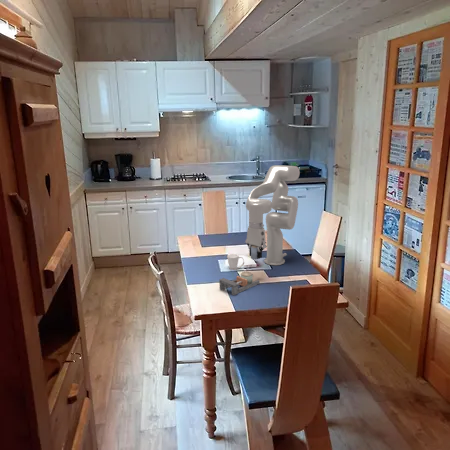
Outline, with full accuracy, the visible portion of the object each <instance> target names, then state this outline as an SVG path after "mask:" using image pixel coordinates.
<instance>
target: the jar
mask: <svg viewBox="0 0 450 450" xmlns="http://www.w3.org/2000/svg"><path fill="white" fill-rule="evenodd" d="M257 252H258V248H257V246H254V245H252V246H251V256H250V259H251V260H259V259H261V258H259V259H258V258H257Z"/></svg>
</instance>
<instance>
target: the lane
mask: <svg viewBox="0 0 450 450" xmlns="http://www.w3.org/2000/svg"><path fill="white" fill-rule="evenodd" d="M259 284H260V279H257V280H255V281H254V280H253V282H252V283H250V284H247V285H245V286H241V287H239V284H238V283H237V282H236V279H234V280H230V279H227V278H225V277H222V278H220V279H219V290H220V291H224V290H226V289H227V288H229V286H231V287H230V288H231V295H232V296H236V295H238V294H239V293H242V292H244V291H246V290H248V289H251V288H253V287H255V286H257V285H259Z"/></svg>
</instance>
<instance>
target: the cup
mask: <svg viewBox="0 0 450 450" xmlns="http://www.w3.org/2000/svg"><path fill="white" fill-rule="evenodd" d="M226 257H227V261H228V262H227V263H228V264H227V265H228V267H229V269H230V270H231V271H234V270H238V269H239V268H241V267H242V266H244V264H245V260H244V258H243V257H242V256H240V255H239V254H237V253H229V254H227V256H226ZM239 259H242V261H243V263H242V264H241V265H239V266H238V264H239Z"/></svg>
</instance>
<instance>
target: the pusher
mask: <svg viewBox="0 0 450 450" xmlns="http://www.w3.org/2000/svg"><path fill="white" fill-rule="evenodd" d="M235 280H236V282H237V283H238V286H241V287H243V286H245V285H247V279H244V278H241V276H238V275H237V276H236V279H235ZM228 288H229V289H231V288H232V287H231V286H229V287H228Z"/></svg>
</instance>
